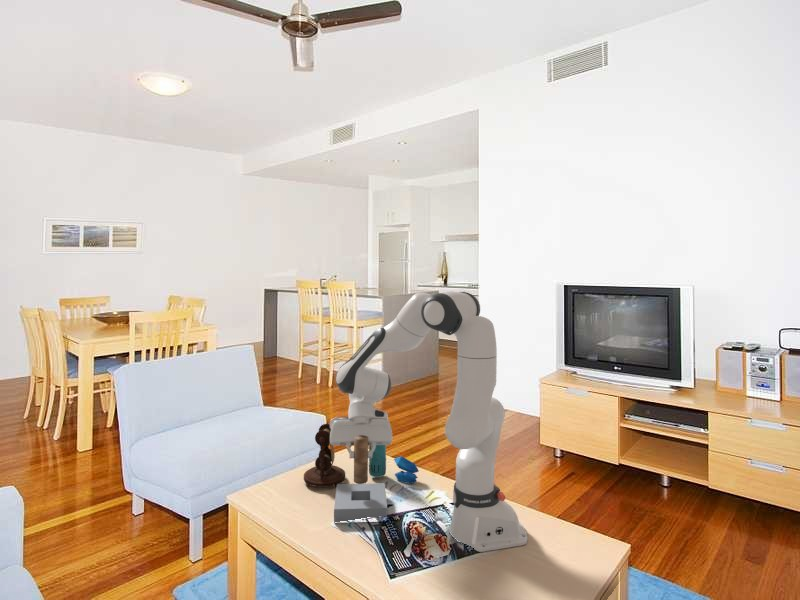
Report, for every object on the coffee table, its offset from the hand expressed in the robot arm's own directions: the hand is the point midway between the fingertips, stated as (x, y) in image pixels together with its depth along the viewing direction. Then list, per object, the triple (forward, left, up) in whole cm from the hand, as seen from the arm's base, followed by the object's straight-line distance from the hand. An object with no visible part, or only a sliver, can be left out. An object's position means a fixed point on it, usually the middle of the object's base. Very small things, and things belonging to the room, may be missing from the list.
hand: (361, 457), depth 149 cm
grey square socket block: (0, -1, -17) cm, 17 cm away
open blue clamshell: (-16, -20, -17) cm, 31 cm away
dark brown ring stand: (+13, -21, -17) cm, 30 cm away
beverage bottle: (-6, -23, -17) cm, 29 cm away
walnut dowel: (0, -1, -8) cm, 8 cm away
